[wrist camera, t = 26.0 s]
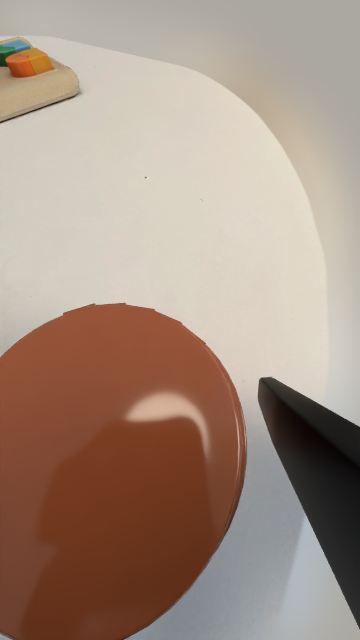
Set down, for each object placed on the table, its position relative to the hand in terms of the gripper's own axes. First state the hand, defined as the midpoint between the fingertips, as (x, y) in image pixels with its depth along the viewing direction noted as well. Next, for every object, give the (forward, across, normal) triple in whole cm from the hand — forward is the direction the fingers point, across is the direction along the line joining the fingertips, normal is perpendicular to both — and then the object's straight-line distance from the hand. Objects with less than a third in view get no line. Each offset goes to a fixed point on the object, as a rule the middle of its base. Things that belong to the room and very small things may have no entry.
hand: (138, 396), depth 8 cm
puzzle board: (+38, +22, -27) cm, 52 cm away
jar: (+4, 0, +6) cm, 7 cm away
